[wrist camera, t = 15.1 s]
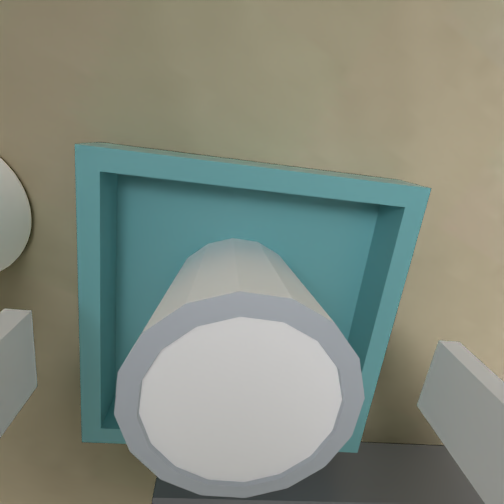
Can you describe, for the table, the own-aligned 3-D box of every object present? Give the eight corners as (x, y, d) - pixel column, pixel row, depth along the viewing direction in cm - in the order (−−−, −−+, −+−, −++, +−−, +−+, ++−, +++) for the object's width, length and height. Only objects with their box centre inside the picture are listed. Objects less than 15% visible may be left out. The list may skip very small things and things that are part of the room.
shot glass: (125, 302, 16) (56, 422, 9) (231, 190, 15) (237, 236, 8) (237, 386, 18) (245, 535, 11) (339, 292, 17) (416, 397, 10)
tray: (99, 142, 14) (74, 143, 12) (399, 179, 16) (431, 188, 13) (100, 401, 18) (81, 441, 16) (341, 413, 19) (357, 452, 17)
